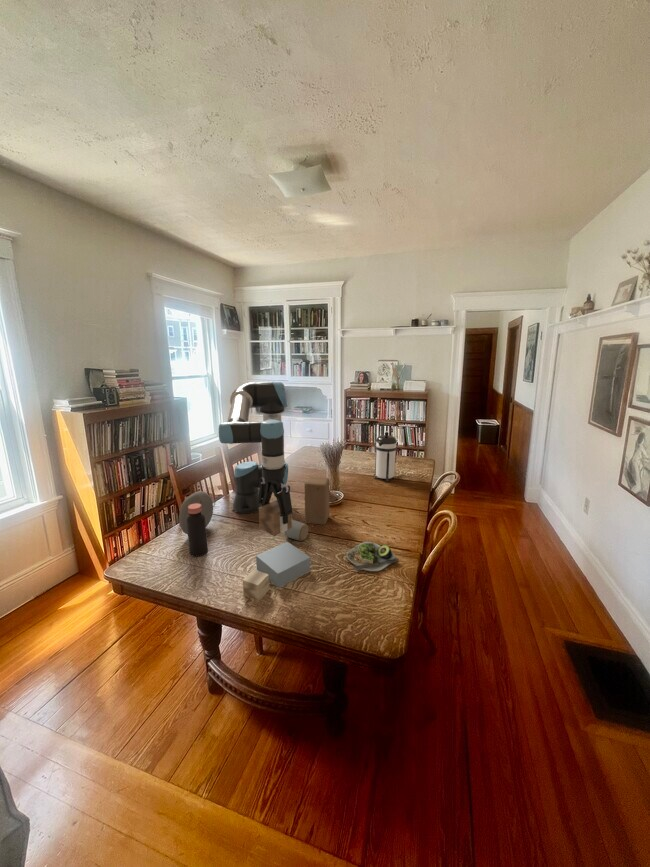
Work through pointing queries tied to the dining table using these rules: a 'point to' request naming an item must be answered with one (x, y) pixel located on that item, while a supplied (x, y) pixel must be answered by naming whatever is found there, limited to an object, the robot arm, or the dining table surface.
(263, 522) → the walnut cube
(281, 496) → the robot arm
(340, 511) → the dining table surface
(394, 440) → the coffee press
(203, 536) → the bottle
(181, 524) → the grey round disc
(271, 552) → the slate block
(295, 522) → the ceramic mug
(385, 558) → the salad plate
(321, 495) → the wooden block
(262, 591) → the maple cube
